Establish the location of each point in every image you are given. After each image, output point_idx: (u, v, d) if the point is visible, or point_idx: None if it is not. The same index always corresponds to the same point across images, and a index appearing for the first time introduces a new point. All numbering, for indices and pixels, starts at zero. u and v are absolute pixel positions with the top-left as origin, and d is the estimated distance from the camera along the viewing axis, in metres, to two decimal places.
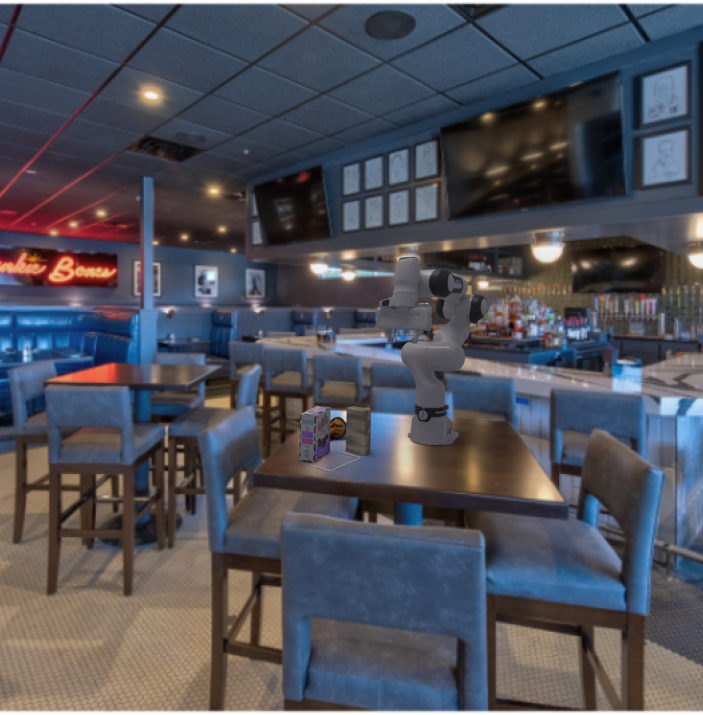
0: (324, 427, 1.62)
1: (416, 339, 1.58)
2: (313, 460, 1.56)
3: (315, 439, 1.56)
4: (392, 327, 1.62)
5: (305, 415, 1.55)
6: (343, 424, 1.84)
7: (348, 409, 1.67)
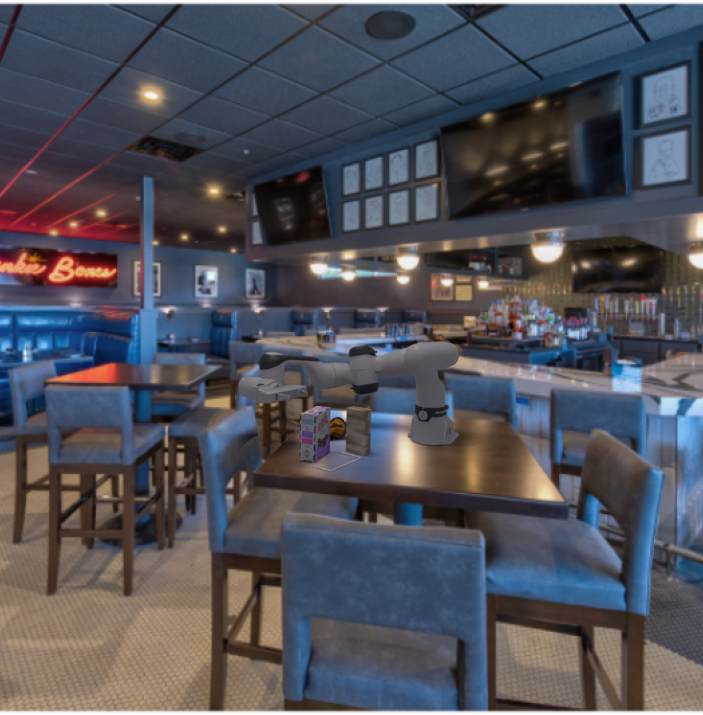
0: (324, 427, 1.62)
1: None
2: (313, 460, 1.56)
3: (315, 439, 1.56)
4: (281, 390, 1.66)
5: (305, 415, 1.55)
6: (343, 424, 1.84)
7: (348, 409, 1.67)
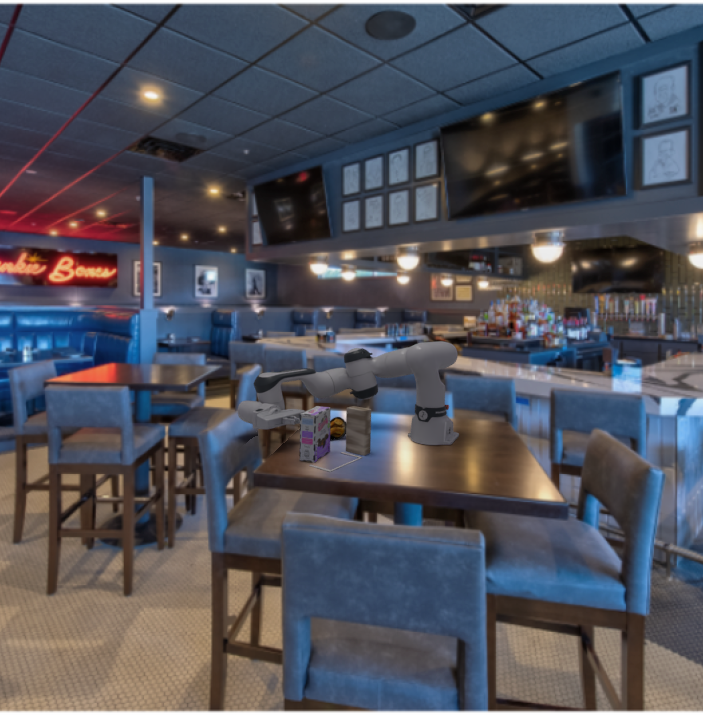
0: (324, 427, 1.62)
1: None
2: (313, 460, 1.56)
3: (315, 439, 1.56)
4: (280, 416, 1.67)
5: (305, 415, 1.55)
6: (343, 424, 1.84)
7: (348, 409, 1.67)
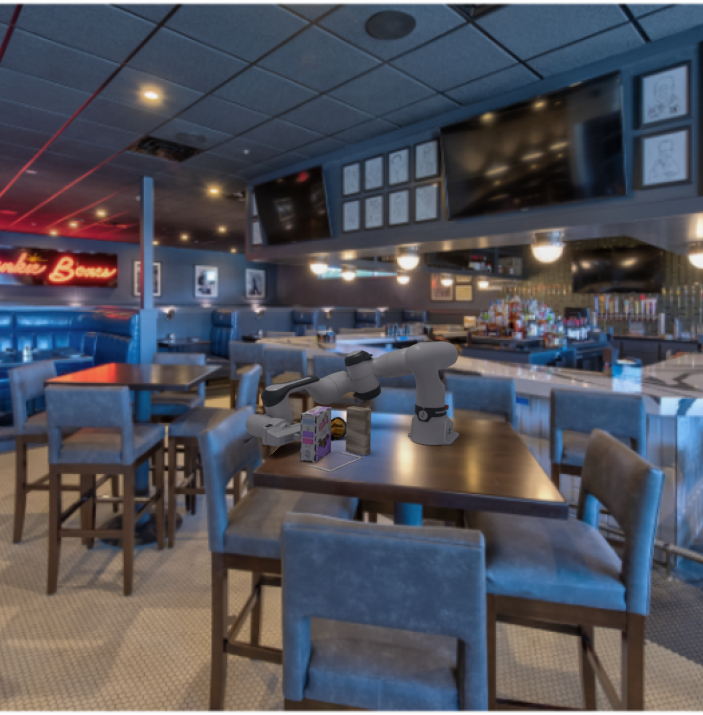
0: (325, 427, 1.62)
1: None
2: (314, 460, 1.56)
3: (316, 439, 1.56)
4: (290, 432, 1.64)
5: (306, 415, 1.55)
6: (343, 424, 1.84)
7: (348, 409, 1.67)
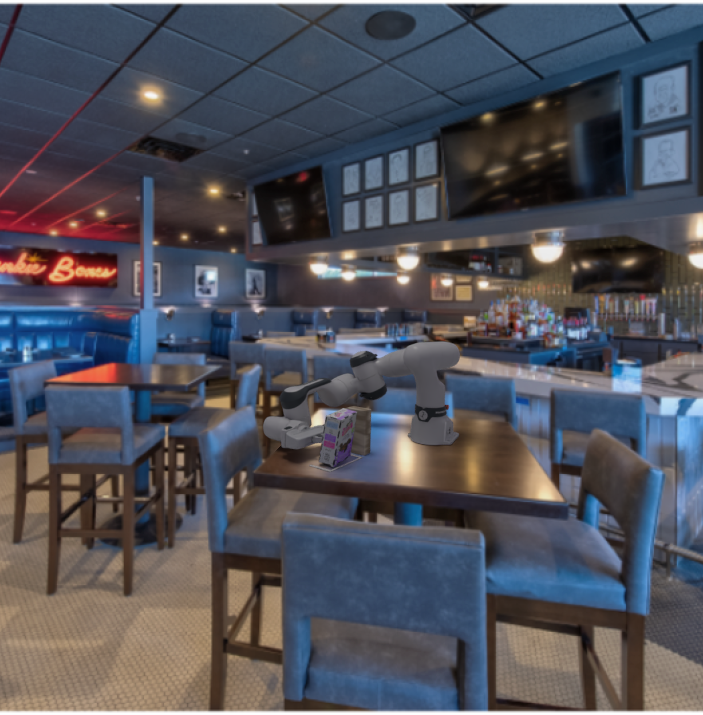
0: (348, 432, 1.57)
1: None
2: (332, 465, 1.52)
3: (337, 444, 1.51)
4: (310, 435, 1.59)
5: (331, 418, 1.50)
6: None
7: None
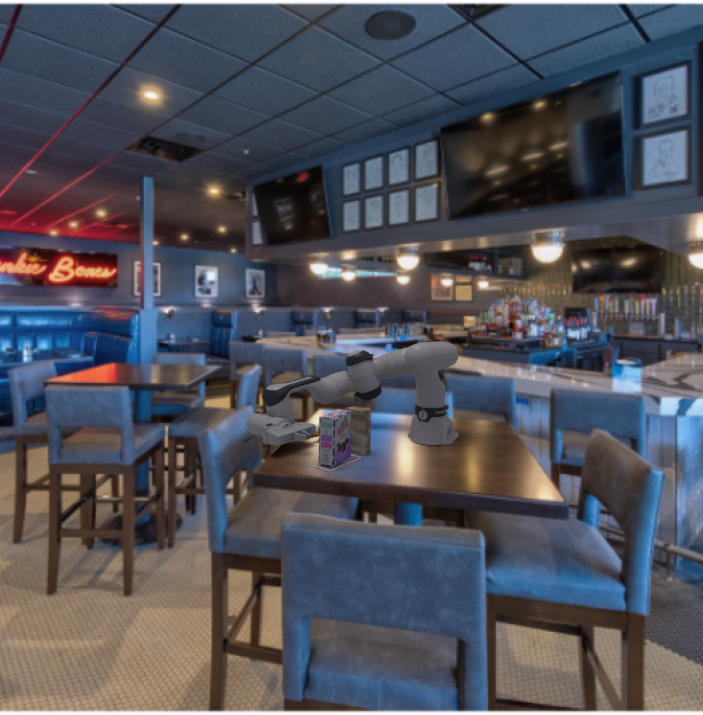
0: (345, 431, 1.58)
1: None
2: (332, 465, 1.52)
3: (334, 443, 1.52)
4: (291, 431, 1.65)
5: (324, 418, 1.51)
6: None
7: (348, 409, 1.67)
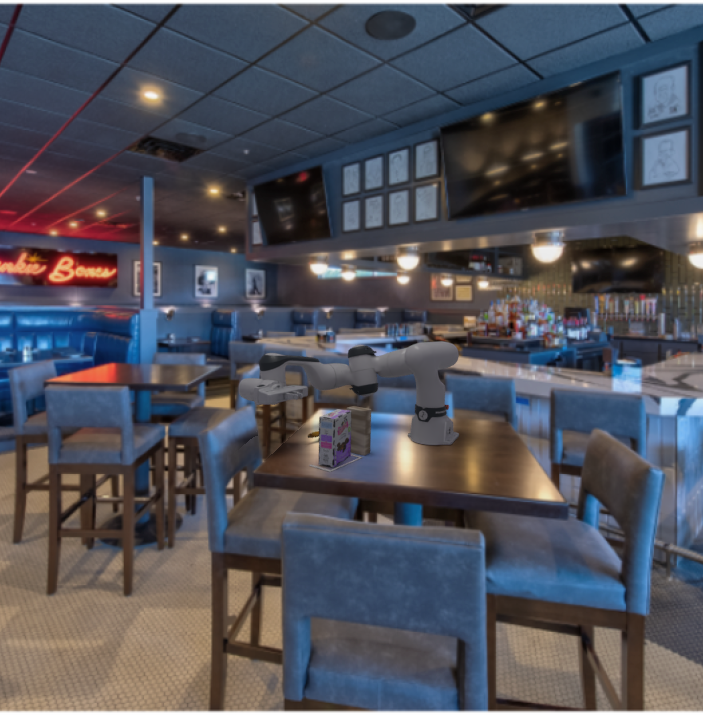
0: (345, 431, 1.58)
1: None
2: (332, 465, 1.52)
3: (334, 443, 1.52)
4: (282, 391, 1.63)
5: (324, 418, 1.51)
6: None
7: (348, 409, 1.67)
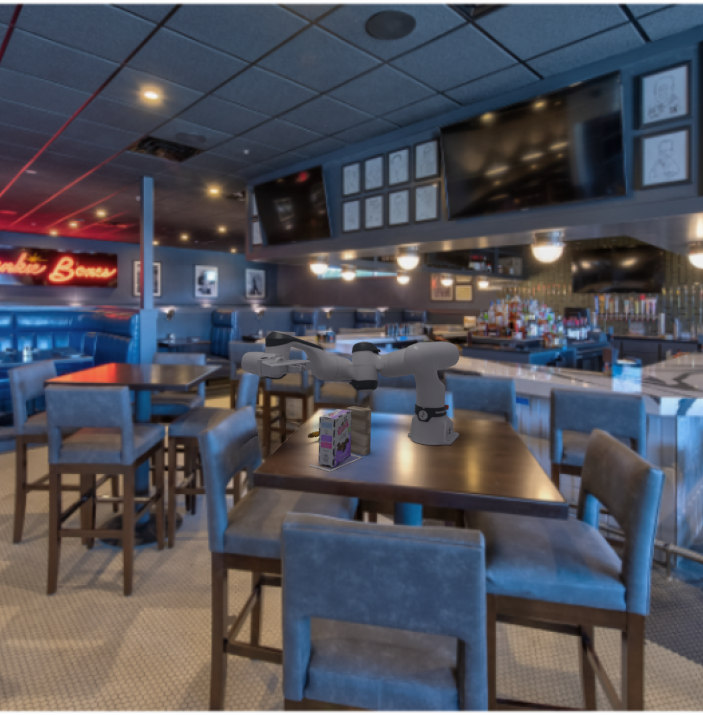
0: (345, 431, 1.58)
1: None
2: (332, 465, 1.52)
3: (334, 443, 1.52)
4: (285, 363, 1.64)
5: (324, 418, 1.51)
6: None
7: (348, 409, 1.67)
